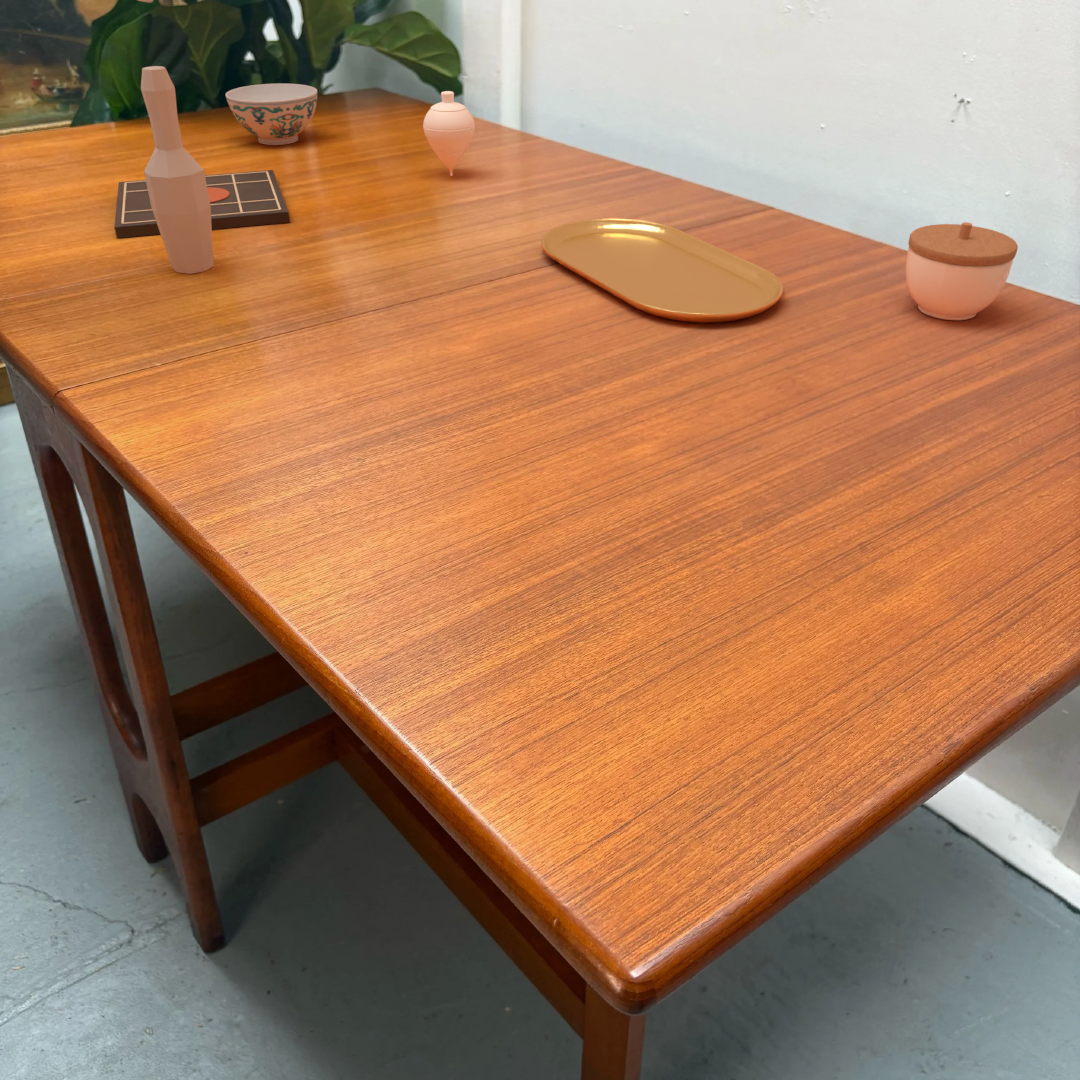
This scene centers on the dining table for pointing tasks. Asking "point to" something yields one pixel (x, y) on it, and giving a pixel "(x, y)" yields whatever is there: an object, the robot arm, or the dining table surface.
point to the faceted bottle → (175, 181)
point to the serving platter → (663, 269)
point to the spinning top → (449, 130)
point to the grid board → (229, 197)
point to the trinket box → (957, 268)
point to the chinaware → (273, 110)
